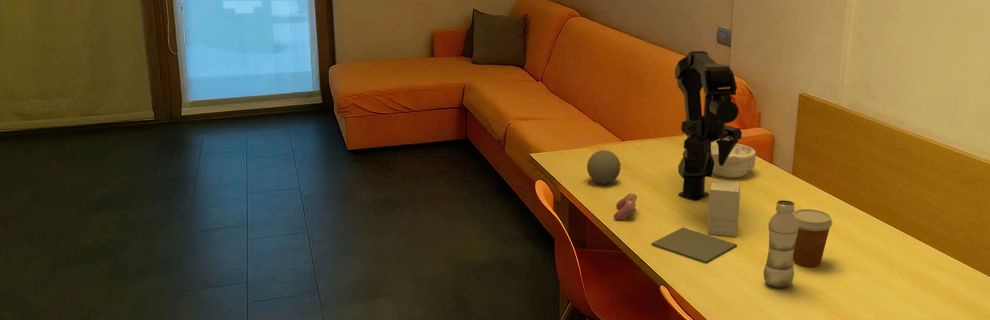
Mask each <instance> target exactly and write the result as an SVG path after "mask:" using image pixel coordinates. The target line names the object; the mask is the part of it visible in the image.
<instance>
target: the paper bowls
mask: <svg viewBox="0 0 990 320" xmlns="http://www.w3.org/2000/svg"><path fill="white" fill-rule="evenodd" d="M756 154H757V153H756V150H755V149H754V148H752V147H751V146H748V145H745V144H741V143H736V145H735V147H734V148H733V150H732V151H731V153H730V154H729V156H728V158H727V160H726V161H725V163H724V165H723V166H721V165H719V155H718V144H717V142H715V143H714V142H713V143H711V156H712V157H713V160H714V162H715V163H714V167H713V172H712V174H714V175H715V176H717V177H718V176H719V177H721V178H731V179H732V178H733V179H734V178H741V177H743V176H745V175H746V174H747V172H749V171H751V170H753V169H754V168H755V165H756Z"/></svg>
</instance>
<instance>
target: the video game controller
mask: <svg viewBox="0 0 990 320" xmlns="http://www.w3.org/2000/svg"><path fill="white" fill-rule="evenodd" d="M637 198H638V195H636V194H635V193H631V192H629V193H628V194H626V195H625V196H624V197H623V198H621V199H619V200H618V201H617V202H616V204H615V207H616V208H617V211H616V212H615V213H614V215H613V218H614V220H615V221H622V220H625V219H626V218H629V216H631V215H632V214H633V213H636V212H637V208H636V205H637V204H636V201H637Z"/></svg>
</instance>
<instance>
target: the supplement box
mask: <svg viewBox="0 0 990 320" xmlns="http://www.w3.org/2000/svg"><path fill="white" fill-rule="evenodd" d="M740 199H741V182H736V181H735V182H734V181H725V180H715V179H713V180H712V183H711V185H710V188H709V200H708V201H709V202H708V220H707V235H714V236H715V235H717V236H724V237H725V236H726V237H732V238H733V237H735V238H736V237H737V232H738V227H739V215H740V214H739V212H740Z"/></svg>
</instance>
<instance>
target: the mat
mask: <svg viewBox="0 0 990 320" xmlns="http://www.w3.org/2000/svg"><path fill="white" fill-rule="evenodd" d="M650 246H653V247H655V248H658V249H662V250H665V251H667V252H671V253H674V254H677V255H679V256H682V257H685V258H687V259H691V260H694V261H697V262H700V263H703V264H708V263H710V262H712V261H713V260H715V259H717V258H719V257H720V256H723V255H724V254H726V253H727V252H729V251H731V250H733V249H734V248H737V246H738V245H737V243H734V242H732V241H728V240H724V239H721V238H717V237H714V236H712V235H710V234H705V233H701V232H698V231H695V230H692V229H689V228H686V227H680V228H678V229H677V230H675V231H673V232H670V233H669V234H666V235H664V236H662V237H661V238H658V239H657V240H655V241H653V242H651V245H650Z"/></svg>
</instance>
